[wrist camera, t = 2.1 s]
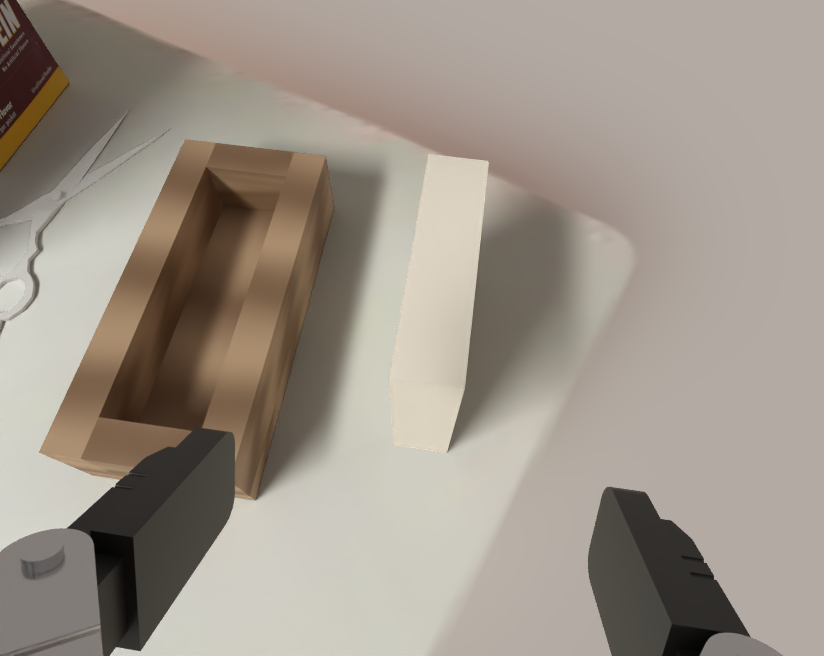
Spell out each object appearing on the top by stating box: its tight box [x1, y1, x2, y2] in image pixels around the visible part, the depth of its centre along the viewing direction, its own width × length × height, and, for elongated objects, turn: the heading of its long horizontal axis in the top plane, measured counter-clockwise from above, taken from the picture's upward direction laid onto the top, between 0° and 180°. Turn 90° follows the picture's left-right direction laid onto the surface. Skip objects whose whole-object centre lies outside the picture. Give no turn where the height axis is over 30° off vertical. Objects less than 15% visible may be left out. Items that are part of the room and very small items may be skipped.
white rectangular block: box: [389, 154, 489, 453], centre depth 28 cm, size 12×3×10 cm, turn 172°
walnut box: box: [39, 140, 334, 500], centre depth 31 cm, size 20×9×5 cm, turn 172°
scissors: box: [0, 110, 169, 330], centre depth 37 cm, size 11×1×20 cm
